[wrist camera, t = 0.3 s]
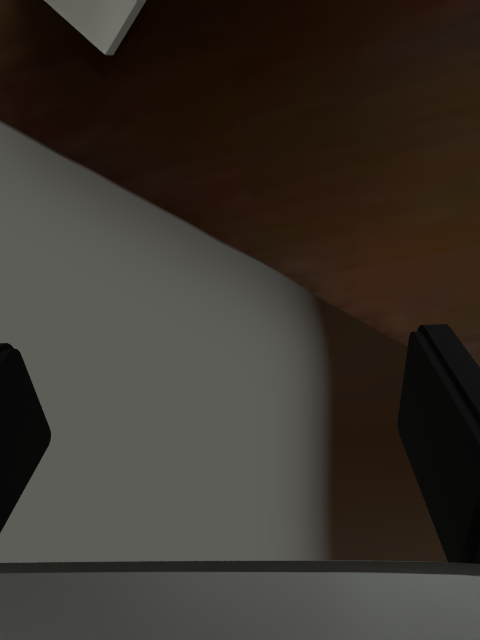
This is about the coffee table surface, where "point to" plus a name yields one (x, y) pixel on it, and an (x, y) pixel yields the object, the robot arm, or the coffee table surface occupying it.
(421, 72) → the coffee table surface
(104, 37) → the can holder
